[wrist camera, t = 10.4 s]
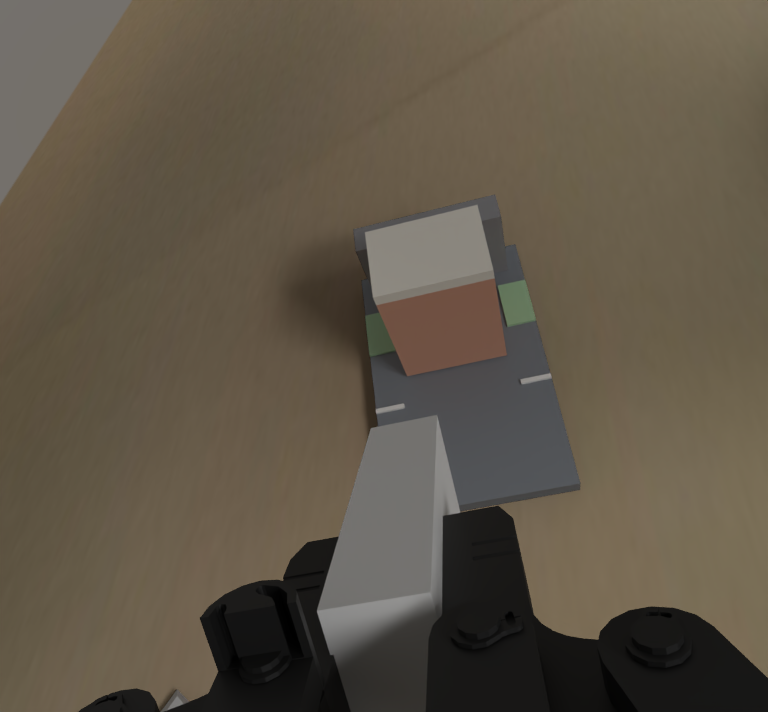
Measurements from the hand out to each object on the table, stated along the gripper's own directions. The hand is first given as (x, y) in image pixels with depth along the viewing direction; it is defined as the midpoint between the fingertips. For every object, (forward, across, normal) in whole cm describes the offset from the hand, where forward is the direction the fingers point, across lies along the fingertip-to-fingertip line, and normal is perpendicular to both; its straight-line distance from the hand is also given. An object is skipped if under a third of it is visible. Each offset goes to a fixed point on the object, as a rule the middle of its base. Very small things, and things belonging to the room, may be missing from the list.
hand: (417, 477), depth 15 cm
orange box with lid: (+33, 0, -5) cm, 33 cm away
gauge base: (+32, 0, -7) cm, 33 cm away
